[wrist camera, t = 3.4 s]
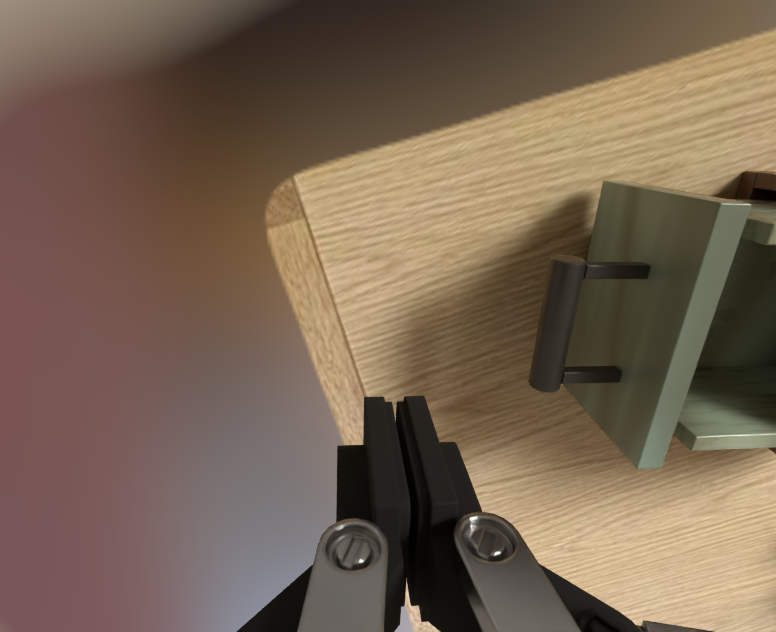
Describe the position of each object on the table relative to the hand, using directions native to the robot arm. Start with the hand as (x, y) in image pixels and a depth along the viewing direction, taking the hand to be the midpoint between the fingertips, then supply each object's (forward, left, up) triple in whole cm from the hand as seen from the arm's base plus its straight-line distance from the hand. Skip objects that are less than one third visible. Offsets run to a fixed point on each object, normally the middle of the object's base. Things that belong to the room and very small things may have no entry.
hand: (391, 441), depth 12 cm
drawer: (+16, 0, -11) cm, 20 cm away
